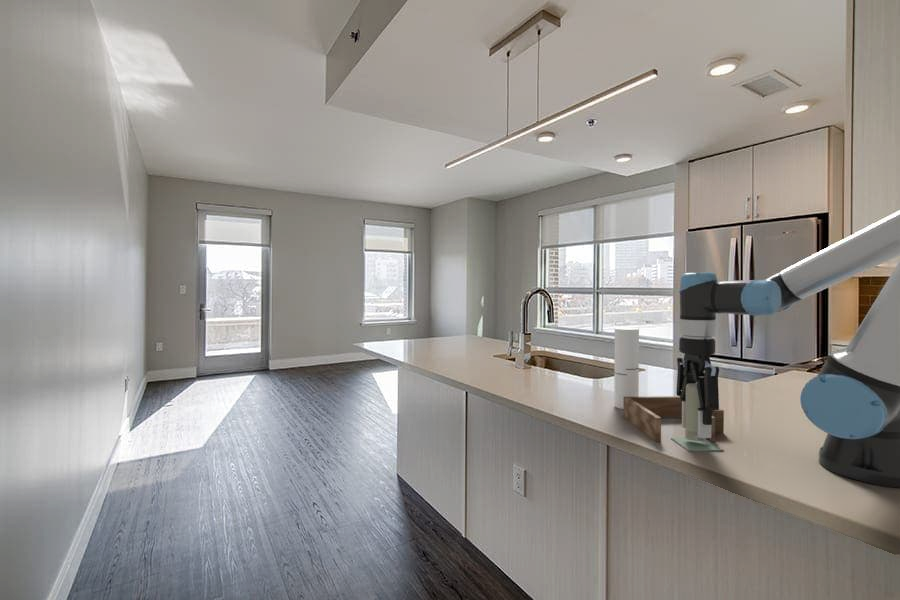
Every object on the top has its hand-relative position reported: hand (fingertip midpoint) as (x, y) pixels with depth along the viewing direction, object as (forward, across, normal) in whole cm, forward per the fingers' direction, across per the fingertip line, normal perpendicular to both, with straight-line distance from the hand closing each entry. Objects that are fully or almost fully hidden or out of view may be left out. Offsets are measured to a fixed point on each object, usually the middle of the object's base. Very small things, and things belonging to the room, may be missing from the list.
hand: (695, 432), depth 102 cm
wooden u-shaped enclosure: (+3, +12, -2) cm, 12 cm away
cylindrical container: (+3, +33, +4) cm, 33 cm away
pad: (+3, 0, 0) cm, 3 cm away
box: (+2, 0, 0) cm, 2 cm away
